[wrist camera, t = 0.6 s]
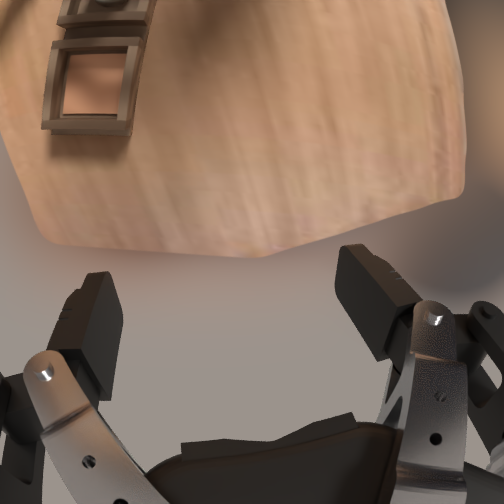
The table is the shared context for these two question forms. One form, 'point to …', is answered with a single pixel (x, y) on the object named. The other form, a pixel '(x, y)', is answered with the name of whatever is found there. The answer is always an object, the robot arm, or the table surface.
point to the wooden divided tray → (96, 67)
